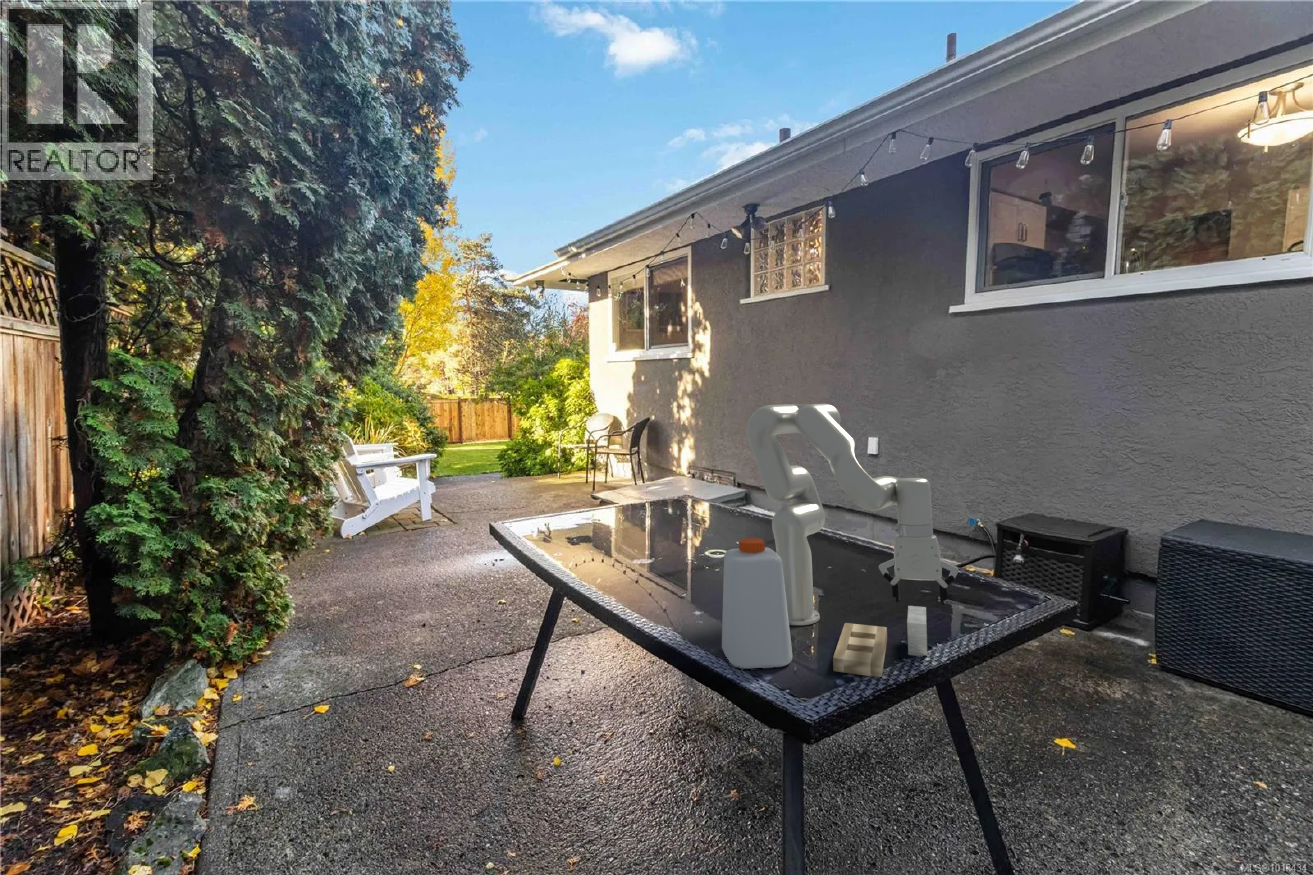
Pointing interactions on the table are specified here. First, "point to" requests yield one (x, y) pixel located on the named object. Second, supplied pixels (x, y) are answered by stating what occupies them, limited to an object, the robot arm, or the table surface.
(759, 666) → the plastic bottle
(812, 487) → the robot arm
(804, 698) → the table surface
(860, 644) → the birch rail
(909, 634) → the brushed steel block
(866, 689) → the table surface
